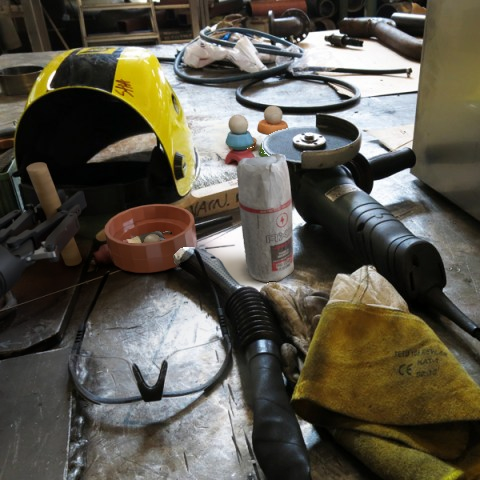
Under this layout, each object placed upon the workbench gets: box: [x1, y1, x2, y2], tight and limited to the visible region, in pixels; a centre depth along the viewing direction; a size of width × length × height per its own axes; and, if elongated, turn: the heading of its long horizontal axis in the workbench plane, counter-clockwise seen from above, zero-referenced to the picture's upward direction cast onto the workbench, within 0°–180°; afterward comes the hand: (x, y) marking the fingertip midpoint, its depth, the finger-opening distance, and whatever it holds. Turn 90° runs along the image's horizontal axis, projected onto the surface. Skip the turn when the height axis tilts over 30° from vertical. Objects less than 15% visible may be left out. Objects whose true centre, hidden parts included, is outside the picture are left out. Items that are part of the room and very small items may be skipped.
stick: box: [26, 161, 83, 267], centre depth 75 cm, size 3×3×18 cm
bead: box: [143, 234, 161, 243], centre depth 82 cm, size 3×3×3 cm
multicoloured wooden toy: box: [224, 105, 289, 165], centre depth 121 cm, size 18×17×12 cm
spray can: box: [236, 152, 295, 283], centre depth 75 cm, size 8×8×20 cm
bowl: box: [104, 203, 198, 274], centre depth 82 cm, size 14×14×6 cm
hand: (73, 198), depth 79 cm, fingers closed on stick, 3 cm apart
